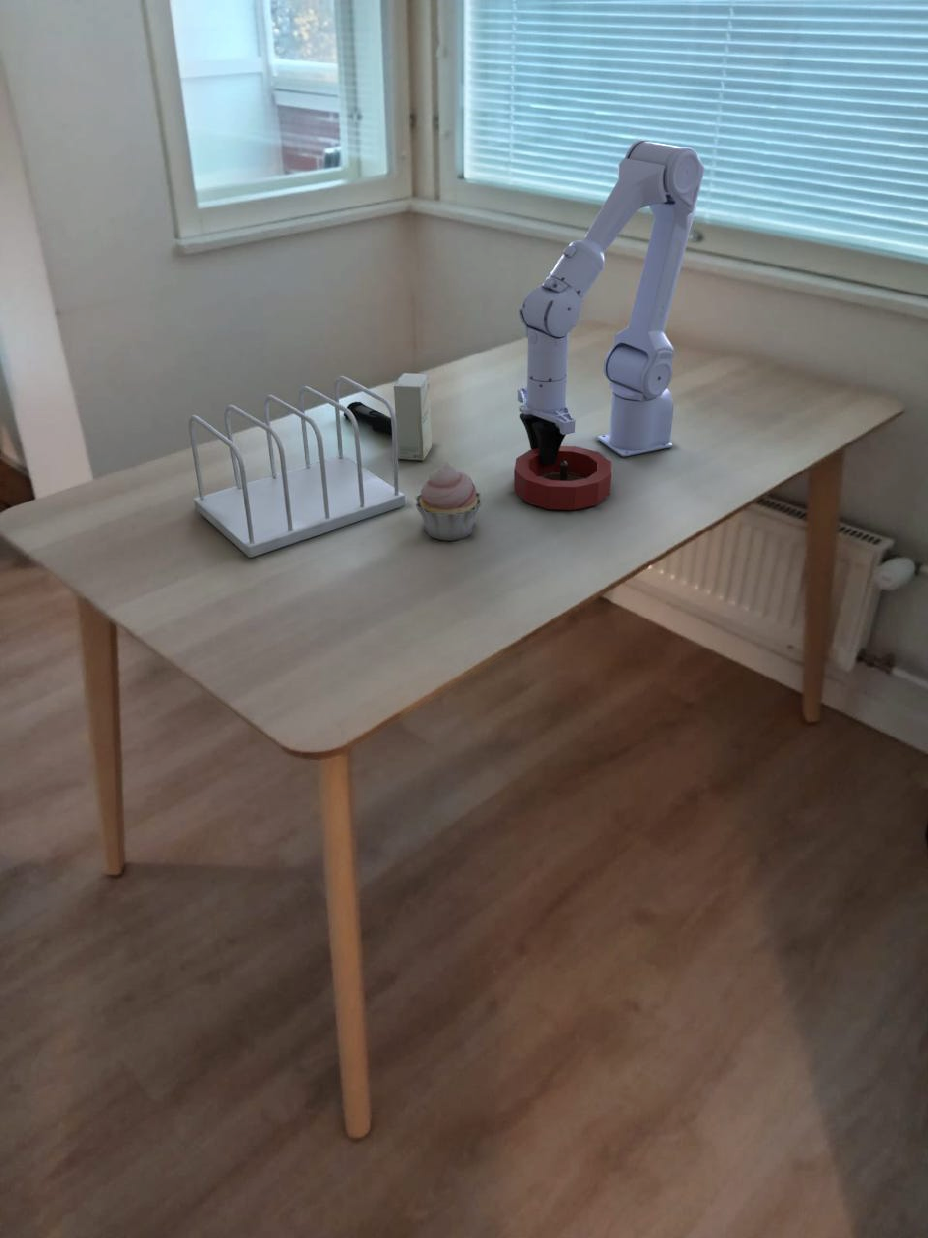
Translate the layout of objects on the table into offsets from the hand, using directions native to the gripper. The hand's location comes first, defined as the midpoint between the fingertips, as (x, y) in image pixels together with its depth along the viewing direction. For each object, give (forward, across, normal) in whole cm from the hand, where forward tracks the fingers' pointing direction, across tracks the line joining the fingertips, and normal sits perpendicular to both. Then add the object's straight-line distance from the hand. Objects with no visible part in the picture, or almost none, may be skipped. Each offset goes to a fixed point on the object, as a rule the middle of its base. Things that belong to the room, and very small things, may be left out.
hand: (543, 461), depth 145 cm
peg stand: (+2, +6, 0) cm, 7 cm away
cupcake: (+2, +10, -20) cm, 23 cm away
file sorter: (+2, -5, -37) cm, 37 cm away
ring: (+2, +6, 0) cm, 6 cm away
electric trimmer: (+2, -28, -17) cm, 33 cm away
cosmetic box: (+2, -16, -15) cm, 22 cm away
